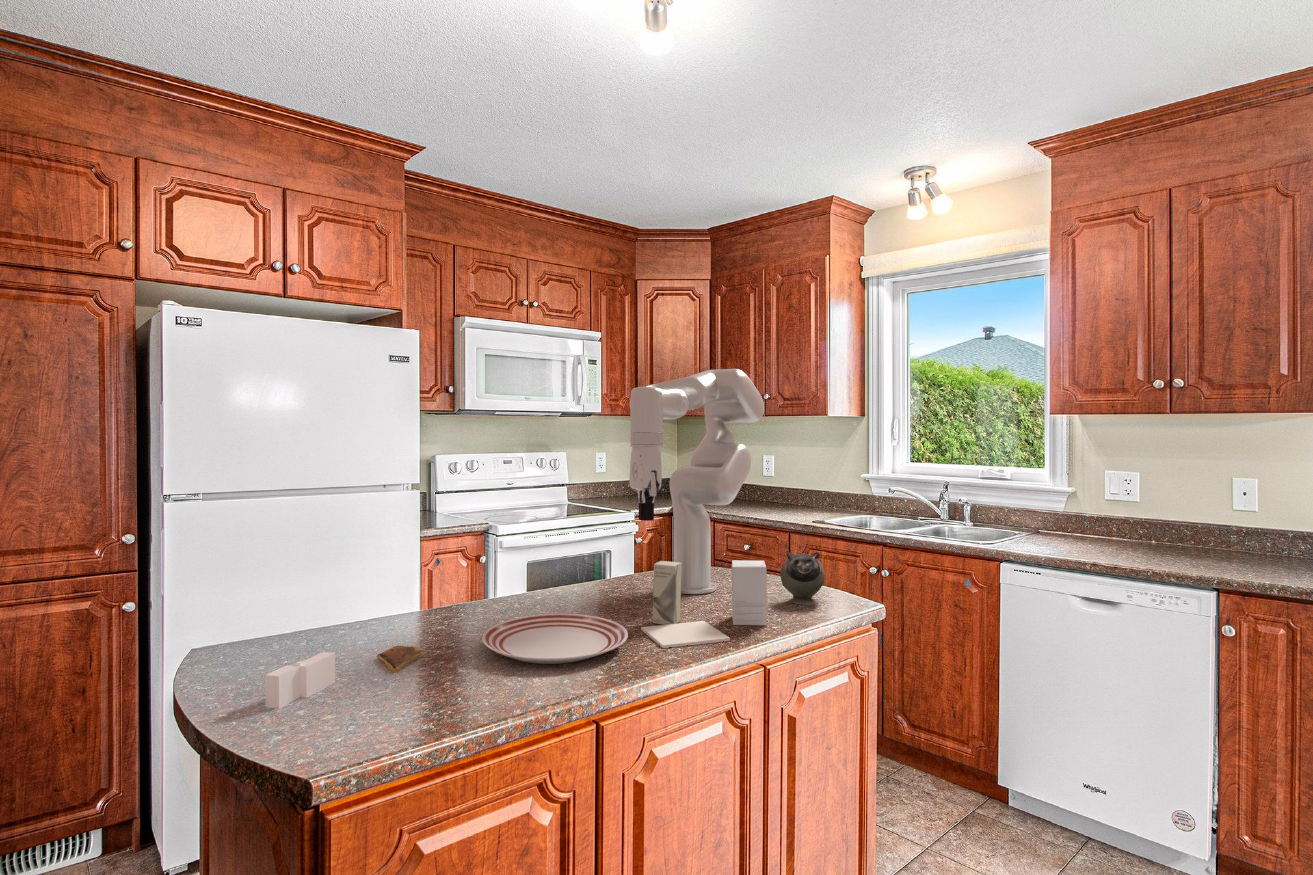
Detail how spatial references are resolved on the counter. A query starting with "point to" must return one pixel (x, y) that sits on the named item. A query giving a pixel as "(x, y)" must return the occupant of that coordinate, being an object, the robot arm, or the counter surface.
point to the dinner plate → (554, 637)
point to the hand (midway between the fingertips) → (646, 520)
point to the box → (666, 592)
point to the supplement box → (749, 592)
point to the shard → (400, 656)
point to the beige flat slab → (684, 634)
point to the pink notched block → (299, 680)
